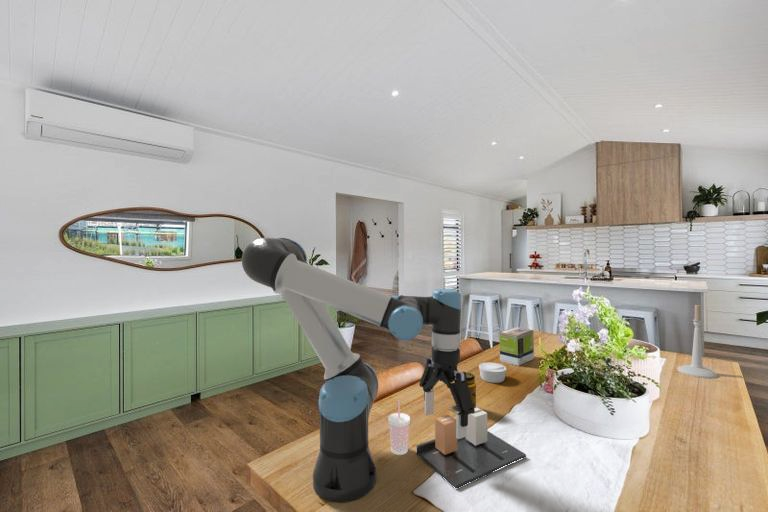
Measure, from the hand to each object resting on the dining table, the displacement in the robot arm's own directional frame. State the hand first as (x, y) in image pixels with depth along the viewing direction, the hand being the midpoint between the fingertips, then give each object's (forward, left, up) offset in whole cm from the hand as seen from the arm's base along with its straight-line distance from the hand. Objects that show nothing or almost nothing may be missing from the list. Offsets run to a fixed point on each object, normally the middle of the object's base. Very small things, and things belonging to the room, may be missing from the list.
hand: (444, 425), depth 95 cm
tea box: (+79, +43, -8) cm, 91 cm away
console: (+5, -4, -8) cm, 11 cm away
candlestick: (+132, -8, -8) cm, 133 cm away
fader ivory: (+10, -1, -6) cm, 12 cm away
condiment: (+22, +17, -8) cm, 29 cm away
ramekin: (+51, +32, -8) cm, 61 cm away
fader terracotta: (0, 0, -6) cm, 6 cm away
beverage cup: (-10, +8, -8) cm, 15 cm away
